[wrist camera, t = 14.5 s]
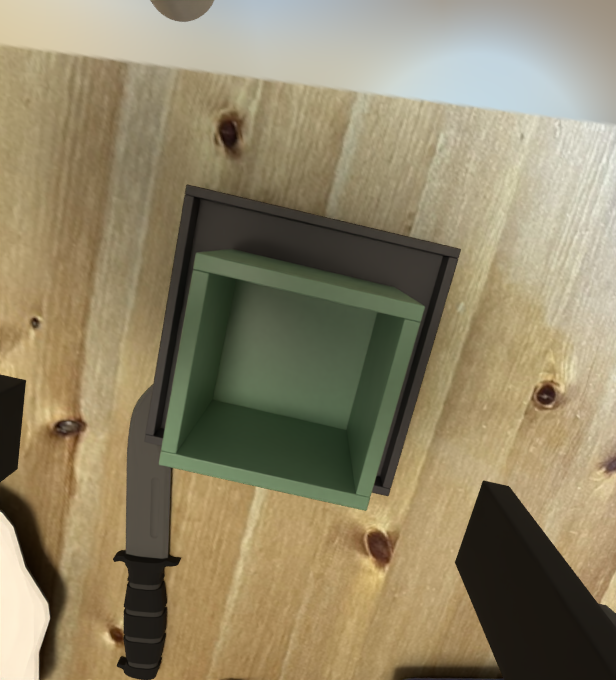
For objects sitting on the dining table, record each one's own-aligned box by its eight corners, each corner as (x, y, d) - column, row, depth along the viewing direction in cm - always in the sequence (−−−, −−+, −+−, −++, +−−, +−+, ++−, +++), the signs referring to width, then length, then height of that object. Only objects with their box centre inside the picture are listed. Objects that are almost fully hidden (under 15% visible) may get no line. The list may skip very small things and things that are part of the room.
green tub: (231, 248, 30) (195, 252, 22) (395, 287, 31) (425, 306, 22) (201, 404, 33) (157, 465, 24) (354, 439, 33) (366, 511, 24)
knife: (110, 372, 32) (183, 379, 32) (120, 366, 33) (190, 373, 33) (109, 677, 37) (172, 683, 37) (118, 660, 39) (178, 666, 39)
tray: (195, 188, 30) (186, 184, 28) (451, 248, 31) (461, 249, 29) (154, 430, 34) (143, 442, 32) (384, 481, 34) (388, 496, 32)
